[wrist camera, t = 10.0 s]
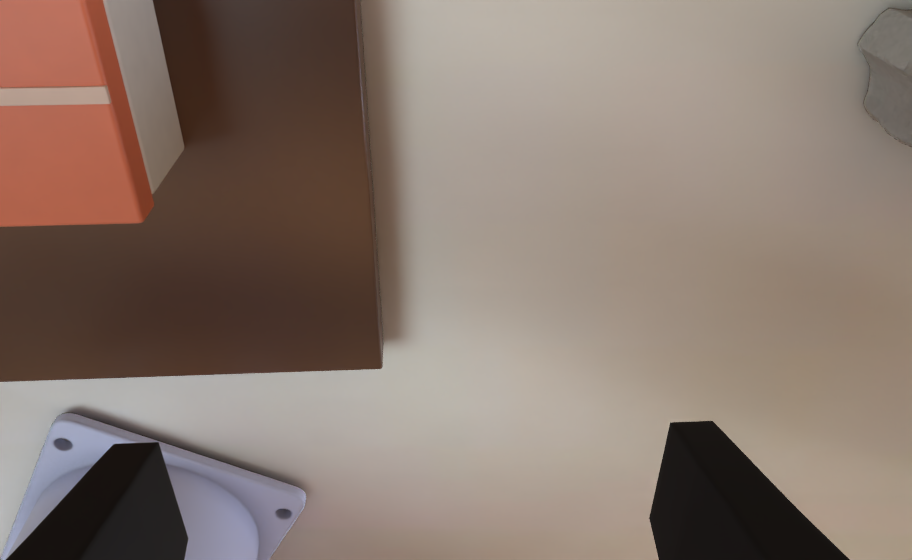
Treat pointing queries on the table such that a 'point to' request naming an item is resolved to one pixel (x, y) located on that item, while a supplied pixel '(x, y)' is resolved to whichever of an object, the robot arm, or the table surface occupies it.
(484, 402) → the table surface
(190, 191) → the serving board
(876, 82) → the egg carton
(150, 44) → the salmon nigiri
